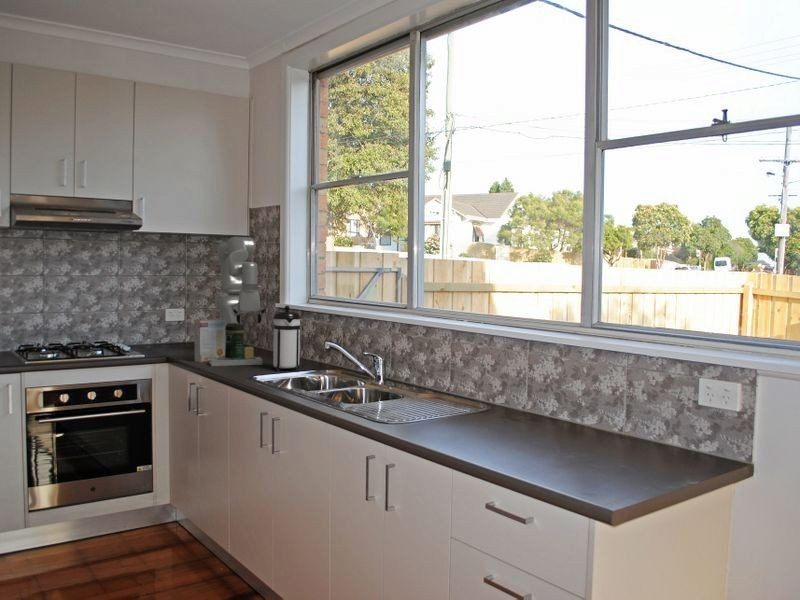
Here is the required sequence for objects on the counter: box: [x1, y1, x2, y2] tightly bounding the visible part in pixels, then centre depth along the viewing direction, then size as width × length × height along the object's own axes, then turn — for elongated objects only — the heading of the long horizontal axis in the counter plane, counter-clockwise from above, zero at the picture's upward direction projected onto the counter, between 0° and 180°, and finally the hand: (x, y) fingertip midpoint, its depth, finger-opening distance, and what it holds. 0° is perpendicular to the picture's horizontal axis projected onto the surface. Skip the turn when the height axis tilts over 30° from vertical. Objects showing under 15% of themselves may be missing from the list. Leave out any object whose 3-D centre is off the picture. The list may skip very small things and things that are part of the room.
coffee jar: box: [225, 323, 245, 358], centre depth 369 cm, size 10×8×19 cm
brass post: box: [243, 346, 255, 359], centre depth 351 cm, size 4×4×8 cm
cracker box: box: [193, 318, 225, 363], centre depth 359 cm, size 14×6×21 cm, turn 135°
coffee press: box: [271, 305, 302, 371], centre depth 338 cm, size 17×16×30 cm
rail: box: [209, 356, 263, 367], centre depth 349 cm, size 8×24×3 cm, turn 110°
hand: (248, 323), depth 351 cm, fingers open, 9 cm apart
